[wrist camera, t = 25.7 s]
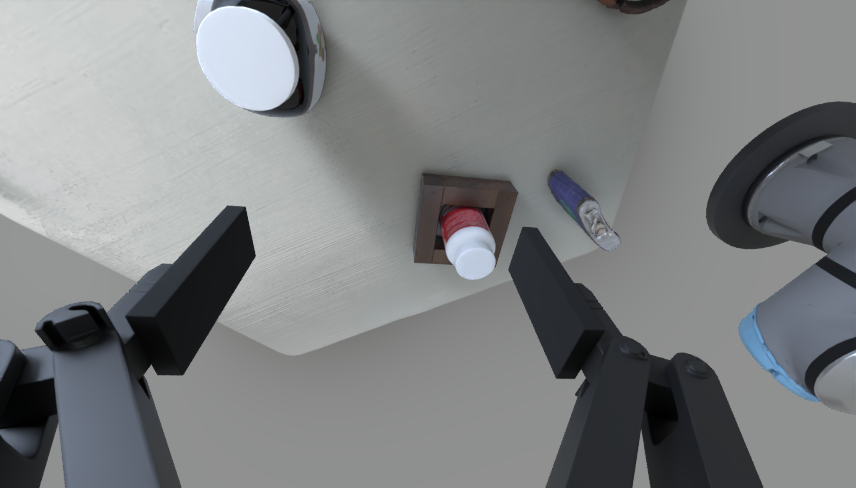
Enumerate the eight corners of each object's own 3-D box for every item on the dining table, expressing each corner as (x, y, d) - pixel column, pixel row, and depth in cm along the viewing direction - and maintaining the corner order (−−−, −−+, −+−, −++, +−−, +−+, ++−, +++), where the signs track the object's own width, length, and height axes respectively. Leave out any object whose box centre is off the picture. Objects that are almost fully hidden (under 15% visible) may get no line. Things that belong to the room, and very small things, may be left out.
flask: (590, 209, 47) (633, 253, 39) (572, 221, 48) (610, 266, 40) (560, 165, 43) (601, 201, 34) (541, 179, 44) (576, 218, 35)
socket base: (510, 181, 44) (518, 192, 41) (490, 253, 51) (495, 267, 48) (422, 173, 42) (424, 184, 39) (413, 248, 49) (414, 262, 46)
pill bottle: (430, 213, 46) (438, 261, 37) (467, 189, 44) (485, 232, 35) (454, 242, 49) (467, 292, 40) (489, 220, 47) (511, 267, 38)
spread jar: (329, 106, 37) (305, 136, 27) (223, 93, 36) (158, 120, 26) (325, -30, 30) (291, -52, 21) (194, -53, 29) (92, -89, 19)
